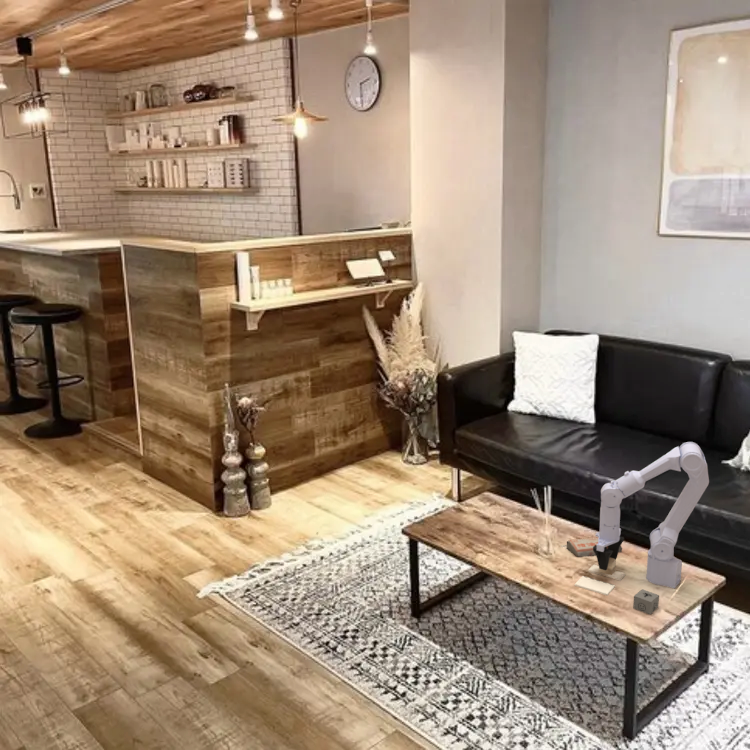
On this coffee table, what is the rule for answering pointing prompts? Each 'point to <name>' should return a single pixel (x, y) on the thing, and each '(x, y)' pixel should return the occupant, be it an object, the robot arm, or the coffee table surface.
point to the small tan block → (608, 570)
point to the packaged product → (583, 546)
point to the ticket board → (594, 585)
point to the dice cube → (646, 601)
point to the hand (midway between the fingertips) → (607, 564)
